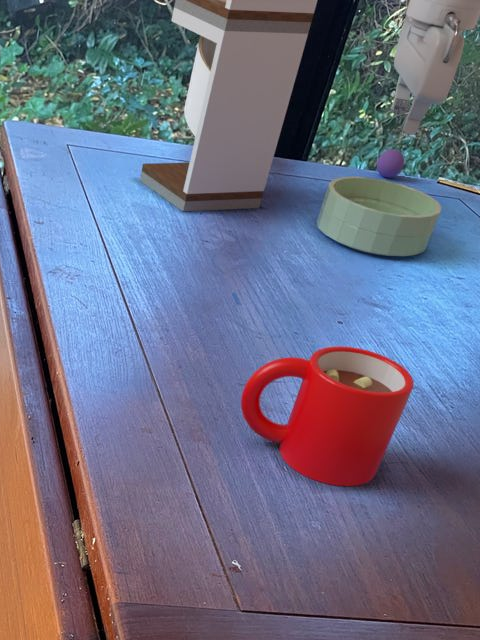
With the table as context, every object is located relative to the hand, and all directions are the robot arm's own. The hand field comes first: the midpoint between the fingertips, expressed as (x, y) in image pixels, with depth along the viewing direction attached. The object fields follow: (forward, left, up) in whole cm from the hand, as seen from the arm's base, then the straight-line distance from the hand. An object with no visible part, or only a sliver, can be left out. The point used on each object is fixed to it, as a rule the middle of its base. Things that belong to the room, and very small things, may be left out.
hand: (402, 122), depth 137 cm
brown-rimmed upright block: (+27, +21, -7) cm, 35 cm away
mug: (+19, +82, -7) cm, 85 cm away
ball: (0, 0, -5) cm, 5 cm away
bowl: (+6, +27, -7) cm, 29 cm away
